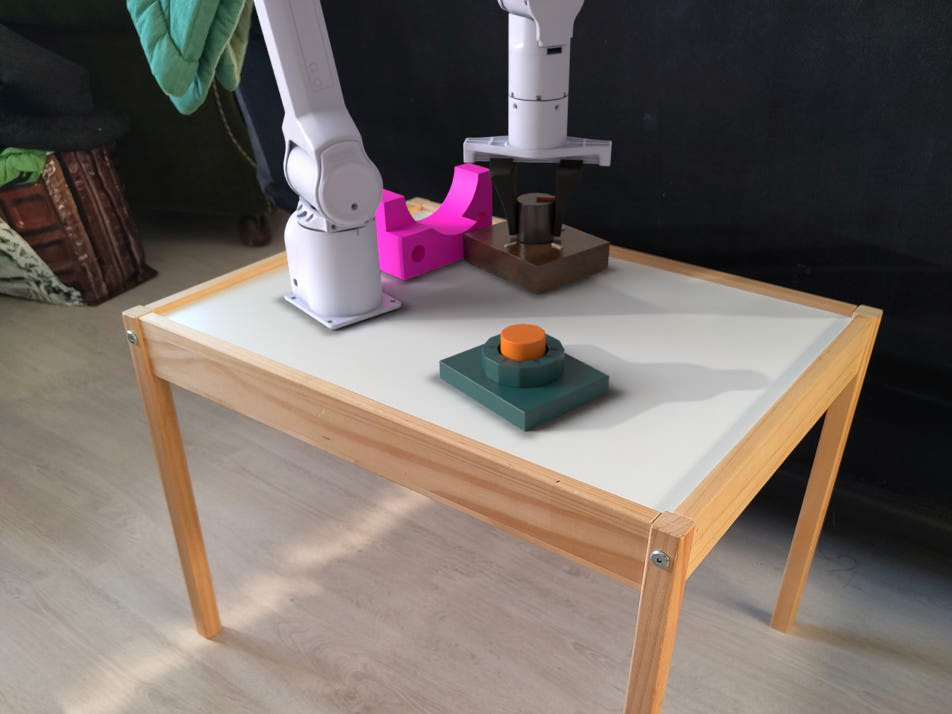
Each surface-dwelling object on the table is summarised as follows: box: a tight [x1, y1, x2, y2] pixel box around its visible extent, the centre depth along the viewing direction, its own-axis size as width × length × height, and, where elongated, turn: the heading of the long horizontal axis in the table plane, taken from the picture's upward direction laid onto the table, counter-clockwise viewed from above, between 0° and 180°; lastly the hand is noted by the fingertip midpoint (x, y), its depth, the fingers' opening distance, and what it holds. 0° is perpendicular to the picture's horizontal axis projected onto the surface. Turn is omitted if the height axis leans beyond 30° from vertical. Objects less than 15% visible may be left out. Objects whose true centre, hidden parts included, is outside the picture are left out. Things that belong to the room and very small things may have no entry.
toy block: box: [375, 163, 493, 281], centre depth 96 cm, size 15×6×8 cm, turn 133°
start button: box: [500, 323, 547, 361], centre depth 72 cm, size 4×4×2 cm
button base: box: [439, 333, 610, 432], centre depth 73 cm, size 11×9×4 cm
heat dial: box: [516, 192, 556, 244], centre depth 92 cm, size 4×4×4 cm
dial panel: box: [463, 220, 611, 295], centre depth 95 cm, size 12×10×3 cm
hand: (535, 232), depth 93 cm, fingers closed on heat dial, 4 cm apart
